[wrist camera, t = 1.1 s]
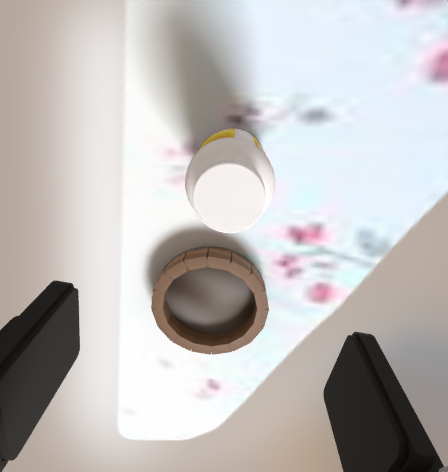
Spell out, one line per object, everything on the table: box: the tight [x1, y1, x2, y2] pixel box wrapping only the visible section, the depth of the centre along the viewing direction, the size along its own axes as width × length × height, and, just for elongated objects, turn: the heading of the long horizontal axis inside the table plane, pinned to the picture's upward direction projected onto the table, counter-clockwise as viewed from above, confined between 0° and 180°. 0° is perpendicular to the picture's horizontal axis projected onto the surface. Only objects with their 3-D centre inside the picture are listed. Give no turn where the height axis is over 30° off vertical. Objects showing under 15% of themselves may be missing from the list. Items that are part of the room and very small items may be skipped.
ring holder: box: [151, 247, 269, 355], centre depth 37 cm, size 13×13×3 cm
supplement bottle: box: [185, 128, 275, 233], centre depth 26 cm, size 7×7×13 cm
